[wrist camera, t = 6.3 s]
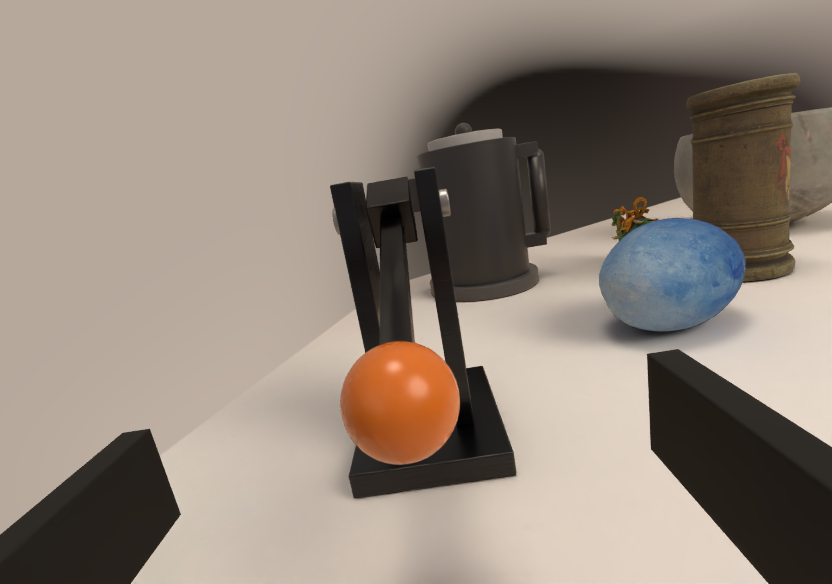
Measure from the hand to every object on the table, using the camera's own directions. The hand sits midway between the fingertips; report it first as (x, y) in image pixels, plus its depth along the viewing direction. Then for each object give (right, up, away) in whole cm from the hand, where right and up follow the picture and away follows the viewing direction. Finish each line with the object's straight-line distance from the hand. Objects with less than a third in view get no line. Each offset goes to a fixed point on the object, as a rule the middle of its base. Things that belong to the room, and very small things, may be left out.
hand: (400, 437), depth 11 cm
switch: (0, +3, +7) cm, 8 cm away
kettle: (+9, +5, +45) cm, 46 cm away
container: (+34, +6, +33) cm, 48 cm away
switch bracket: (+1, -4, +14) cm, 15 cm away
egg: (+22, +1, +24) cm, 33 cm away
